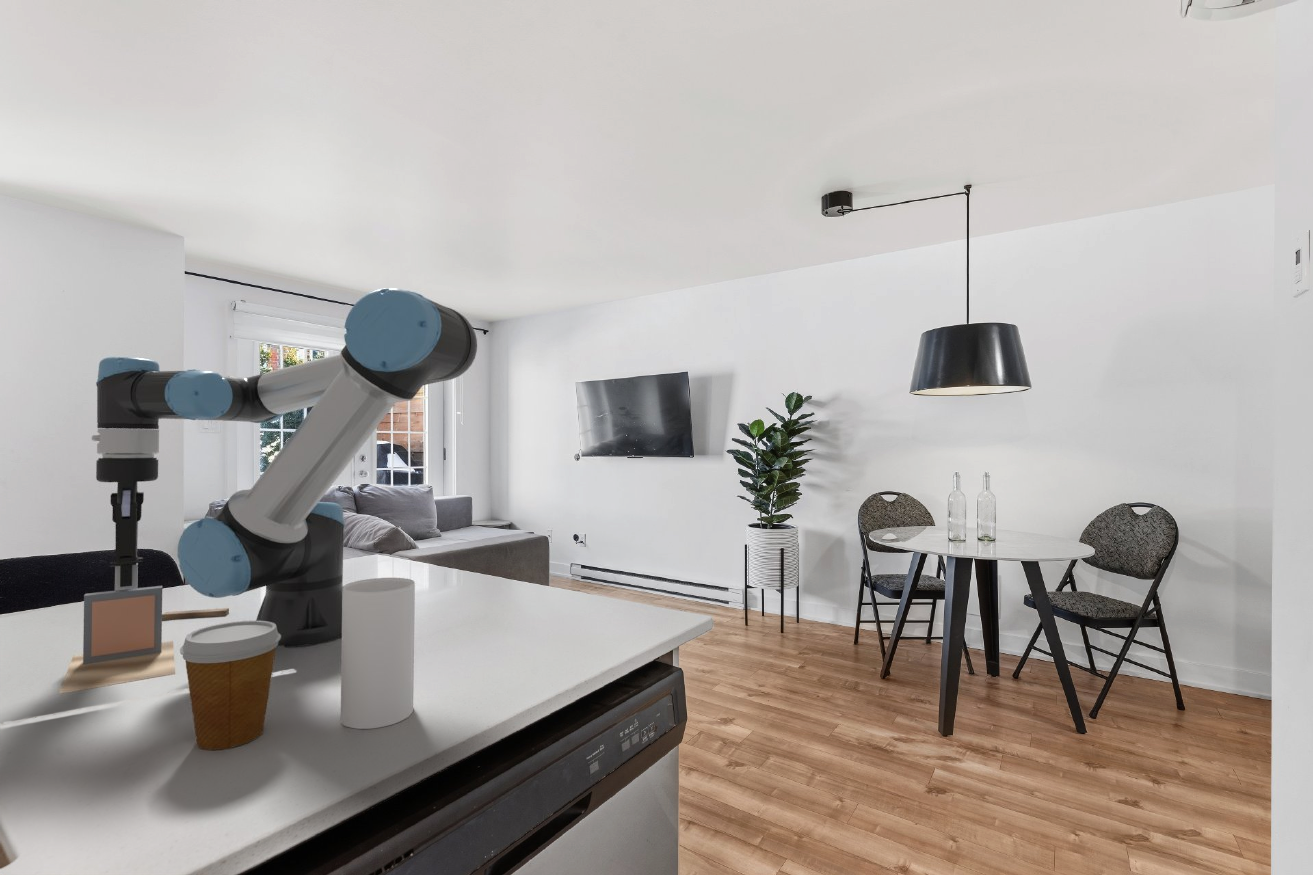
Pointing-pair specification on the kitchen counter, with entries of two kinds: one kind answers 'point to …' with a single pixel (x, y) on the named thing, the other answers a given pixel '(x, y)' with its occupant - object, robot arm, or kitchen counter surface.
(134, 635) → the tile
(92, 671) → the board
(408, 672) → the cup
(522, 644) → the kitchen counter surface
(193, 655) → the disposable coffee cup
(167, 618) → the turner
